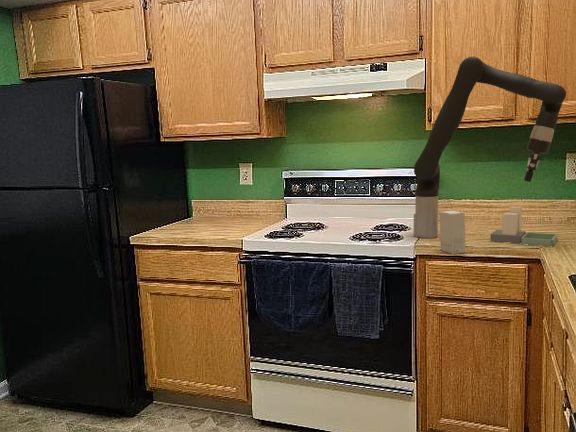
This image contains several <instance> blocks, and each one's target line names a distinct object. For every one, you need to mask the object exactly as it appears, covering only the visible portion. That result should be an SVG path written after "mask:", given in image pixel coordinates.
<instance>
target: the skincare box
mask: <svg viewBox="0 0 576 432" xmlns="http://www.w3.org/2000/svg"><path fill="white" fill-rule="evenodd" d="M465 213H466V212H463V211H457V210H444V211H439V235H440V237H439V239H440V240H439V241H440V251H443V252H445V253H448V254H451V255H453V254H454V255H455V254H466V252H467V251H466V224H465V223H466V221H465V219H466V216H465V215H466V214H465Z"/></svg>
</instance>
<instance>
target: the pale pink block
mask: <svg viewBox="0 0 576 432" xmlns="http://www.w3.org/2000/svg"><path fill="white" fill-rule="evenodd" d="M501 216H502V219H501V220H502V223H501V230H502V234H505V235H516V234H518V213H509V212H504V213H502V215H501Z"/></svg>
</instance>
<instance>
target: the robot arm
mask: <svg viewBox="0 0 576 432" xmlns="http://www.w3.org/2000/svg"><path fill="white" fill-rule="evenodd" d="M476 84H485V85H488V86H489V85H491V86H494V87H497V88H500V89H502V90H505V91H507V92H509V93H513V94H514V95H515V94H516V95H518V96H522V97H525V98H528V99H535V100H539V101H542V102H541V105H540V106H541V107H540V108H539V109H540V110H539V112H538V115H537V117H536V120H535V123H534V126H533V129H532V130H531V133H530V135H529V140H528V142H527V146H526V150H528V151H530V152H532V153H531V155H529V156H528V158H527V161H528V162H527V164H526V166H527V168H526V173H525V174H524V175H525V176H524V179H523V180H524V181H525V182H528V183H530V182H532V178H533V175H534V173H535V172H536V169H537V168H538V165H539V163H540V161H541V157H540V154H542V155H547V154H548V152H549V151H550V146H551V144H552V140H553V137H554V134H555V133H554V132H555V129H556V126H557V123H558V120H559V113H560V110H561V108H562V105H563V102H564V101H565V99H566V97H567V91H566V90H565V88H564V87H563V86H562V85H559V84H555V83H552V82H547V81H540V80H539V79H536V78H533V77H529V76H526V75H523V74H518V73H515V72H509V71H505V70H502V69H498V68H496V67H493V66H491V65H489V64H487V63H485V62H484V61H483V60H481V59H480V58H479V57H477V56H468V57H466V58H464V59H463V60H462V61H461V62H460V64H459V66H458V70H457V72H456V76H455V78H454V82H453V85H452V87H451V89H450V91H449V94H448V95H447V97H446V98H445V100H444V102H443V104H442V105H441V108H440V110H439V112H438V115H437V116H436V119H435V121H434V123H433V126H432V129H431V131H430V133H429V136H428V138H427V141H426V144H425V145H424V148H423V150H422V152H421V153H420V155H419V157H418V158H417V160H416V162H415V163H414V166H413V173H414V175H415V177H416V178H417V182H416V187H415V190H414V192H415V195H414V196H415V198H414V199H415V201H414V202H415V203H414V204H415V213H414V214H413V237H417V238H421V239H423V238H424V239H432V238H433V239H434V238H437V237H438V236H439V190H440V177H441V175H440V173H441V171H440V169H441V168H440V164H439V162H440V160H441V156H443V155H442V154H443V152H444V150H445V149H446V147H447V146H448V145H449V143H450V142H451V140H452V139H453V137H454V136H455V135H456V132H457V131H458V128H459V127H460V125H461V121H462V120H463V117H464V114H465V111H466V107H467V104H468V101H469V97H470V96H471V93H472V91H473V89H474V88H475V86H476Z"/></svg>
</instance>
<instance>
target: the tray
mask: <svg viewBox="0 0 576 432" xmlns="http://www.w3.org/2000/svg"><path fill="white" fill-rule="evenodd" d="M558 237H559V235H558V233H544V232H543V233H542V232H529V231H528V232H526V234H525V235H523V236H522V237H521V244H528V245H527V246H533V245H544V246H543V247H546V246H552V247H551V248H553V247H554V246H555V245H556V243H557V242H558ZM521 244H520V245H521ZM553 245H554V246H553Z"/></svg>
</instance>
